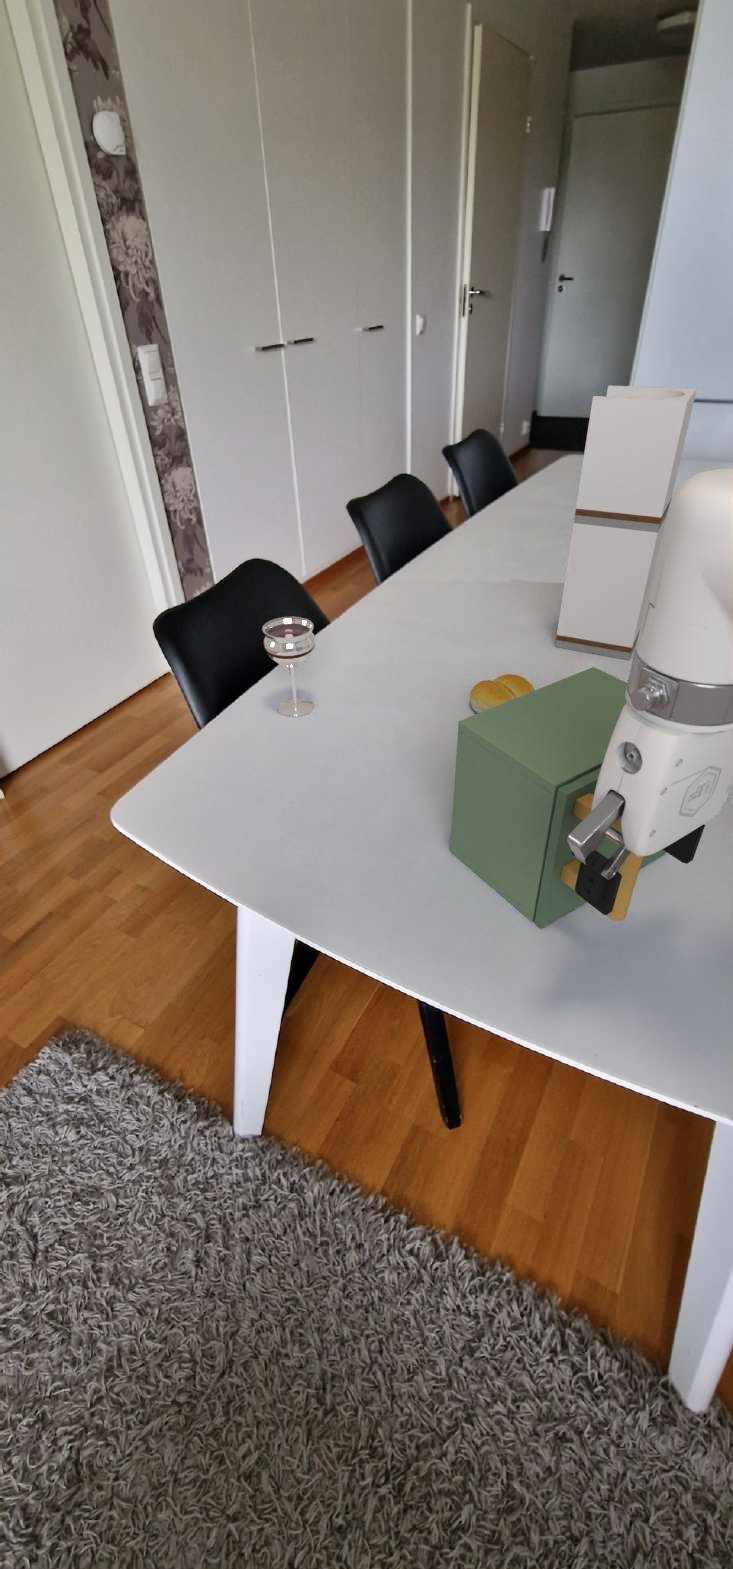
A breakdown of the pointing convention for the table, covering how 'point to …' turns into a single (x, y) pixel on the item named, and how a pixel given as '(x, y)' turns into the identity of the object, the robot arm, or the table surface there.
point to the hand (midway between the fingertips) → (634, 876)
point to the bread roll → (498, 691)
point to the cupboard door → (564, 866)
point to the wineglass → (290, 654)
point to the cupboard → (527, 776)
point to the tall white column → (621, 515)
